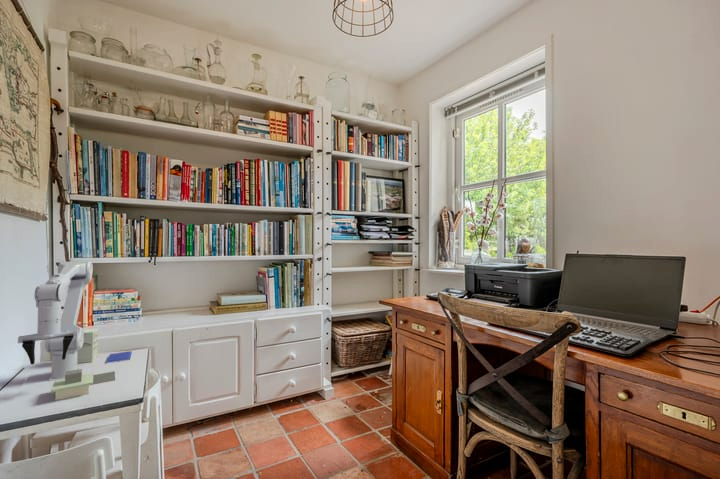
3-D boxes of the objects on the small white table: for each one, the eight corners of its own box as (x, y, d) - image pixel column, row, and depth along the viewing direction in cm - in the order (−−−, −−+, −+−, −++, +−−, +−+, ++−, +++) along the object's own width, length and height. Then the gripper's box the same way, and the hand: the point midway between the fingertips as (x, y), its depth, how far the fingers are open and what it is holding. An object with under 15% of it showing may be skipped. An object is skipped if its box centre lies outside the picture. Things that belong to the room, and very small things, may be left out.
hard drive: (109, 354, 147) (105, 362, 137) (131, 350, 151) (130, 358, 141) (109, 357, 147) (105, 366, 137) (131, 354, 151) (130, 362, 141)
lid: (54, 382, 110) (54, 371, 110) (93, 374, 116) (93, 364, 116) (50, 392, 102) (51, 380, 102) (92, 384, 108) (93, 372, 108)
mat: (77, 379, 121) (77, 377, 121) (114, 372, 128) (114, 371, 128) (74, 389, 113) (74, 388, 113) (115, 381, 119) (115, 380, 119)
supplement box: (70, 364, 137) (70, 333, 137) (77, 359, 143) (77, 329, 144) (92, 362, 140) (93, 331, 140) (98, 356, 146) (98, 327, 147)
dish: (58, 392, 110) (58, 382, 110) (89, 386, 115) (90, 376, 115) (55, 401, 103) (55, 390, 103) (88, 394, 108) (88, 384, 108)
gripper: (16, 325, 104) (14, 369, 104) (76, 319, 113) (76, 359, 113) (20, 321, 110) (19, 363, 109) (78, 315, 119) (77, 354, 118)
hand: (48, 361), depth 111 cm, fingers open, 7 cm apart
